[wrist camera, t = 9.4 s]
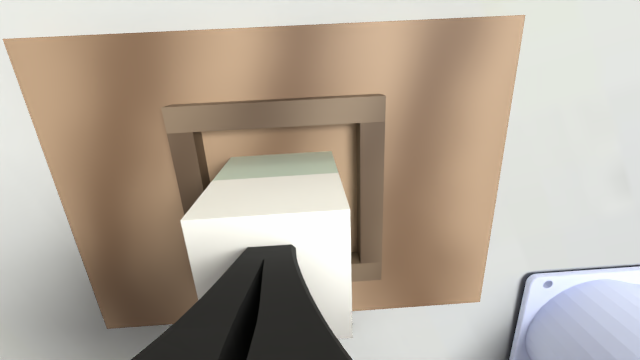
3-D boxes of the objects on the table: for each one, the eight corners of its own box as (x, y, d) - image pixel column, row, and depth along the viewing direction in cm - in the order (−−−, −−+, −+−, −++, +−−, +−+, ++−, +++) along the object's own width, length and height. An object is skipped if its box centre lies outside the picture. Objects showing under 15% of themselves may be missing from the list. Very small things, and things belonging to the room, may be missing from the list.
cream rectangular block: (331, 151, 14) (349, 209, 8) (334, 238, 15) (352, 338, 10) (231, 157, 14) (180, 220, 8) (244, 244, 15) (209, 349, 10)
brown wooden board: (509, 18, 13) (543, 10, 11) (470, 289, 18) (489, 315, 16) (25, 40, 13) (-24, 36, 11) (117, 314, 18) (95, 344, 16)
